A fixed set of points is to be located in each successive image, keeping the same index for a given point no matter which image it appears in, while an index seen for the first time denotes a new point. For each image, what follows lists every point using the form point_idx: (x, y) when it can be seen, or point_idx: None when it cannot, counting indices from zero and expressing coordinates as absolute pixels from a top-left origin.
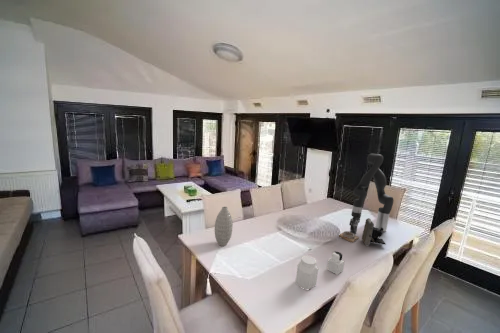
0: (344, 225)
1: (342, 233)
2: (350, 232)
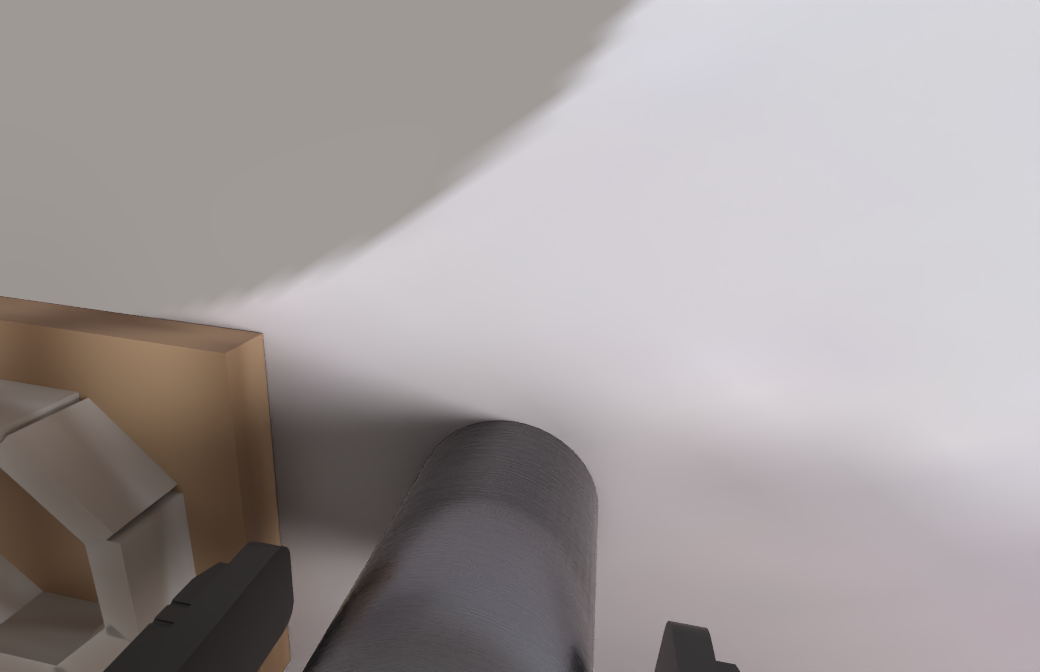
0: (983, 33)
1: (5, 342)
2: (102, 573)
